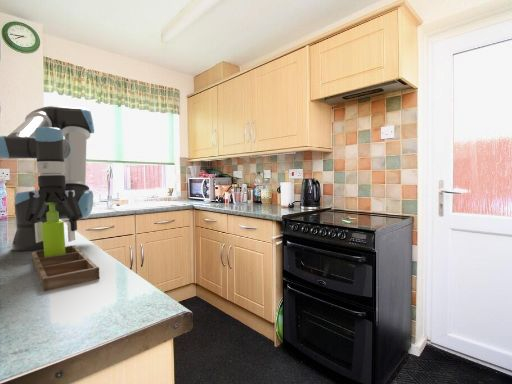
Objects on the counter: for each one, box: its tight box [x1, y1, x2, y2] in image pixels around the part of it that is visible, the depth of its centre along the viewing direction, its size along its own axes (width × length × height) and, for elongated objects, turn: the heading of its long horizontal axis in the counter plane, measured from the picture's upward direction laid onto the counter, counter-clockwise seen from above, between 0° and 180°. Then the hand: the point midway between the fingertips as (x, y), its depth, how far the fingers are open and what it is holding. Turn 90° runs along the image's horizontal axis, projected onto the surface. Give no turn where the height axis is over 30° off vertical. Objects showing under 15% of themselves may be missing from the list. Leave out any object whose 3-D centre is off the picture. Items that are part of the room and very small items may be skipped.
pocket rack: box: [31, 244, 101, 292], centre depth 89 cm, size 36×12×3 cm, turn 41°
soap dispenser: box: [42, 202, 66, 257], centre depth 97 cm, size 6×7×20 cm
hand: (55, 241), depth 98 cm, fingers open, 10 cm apart
